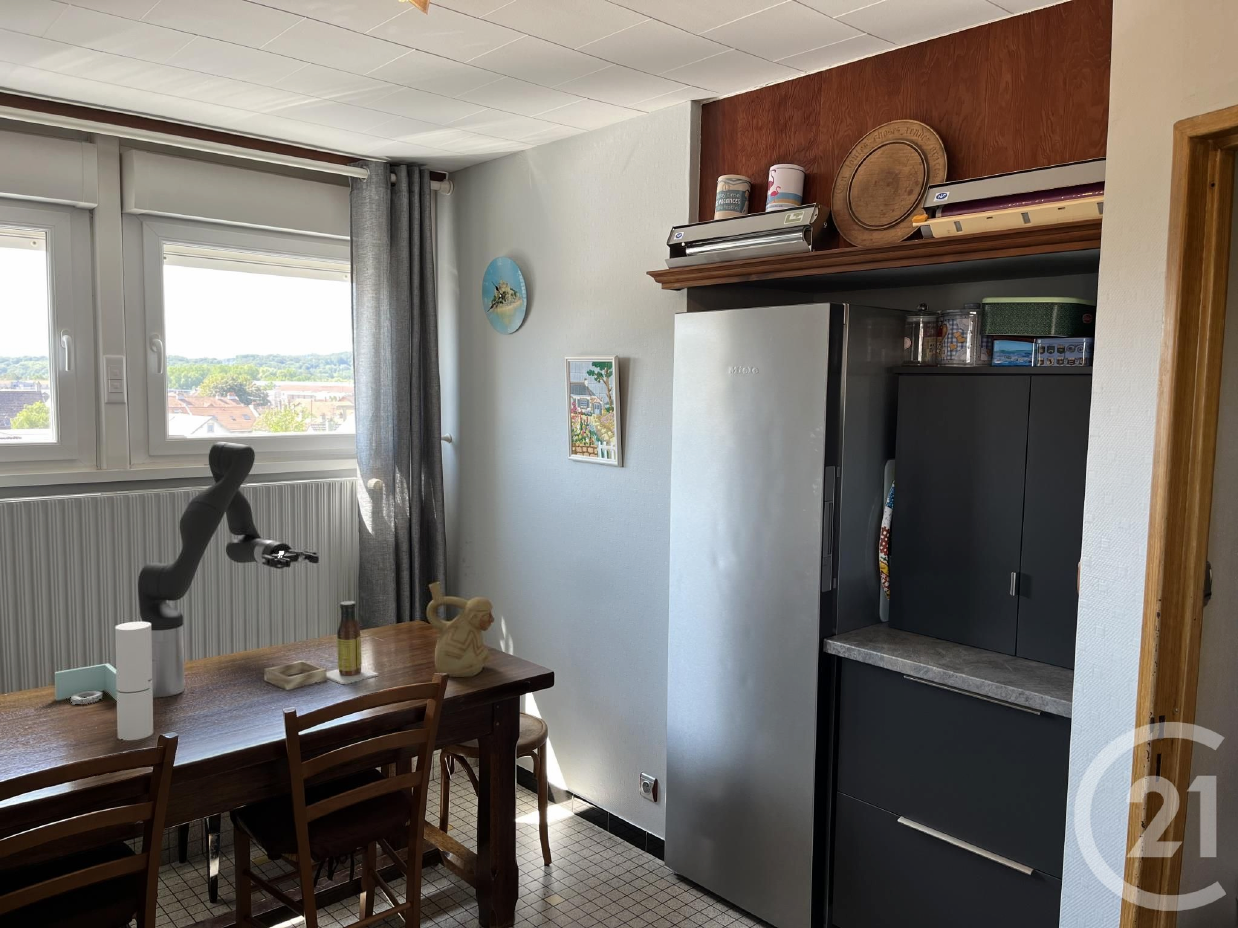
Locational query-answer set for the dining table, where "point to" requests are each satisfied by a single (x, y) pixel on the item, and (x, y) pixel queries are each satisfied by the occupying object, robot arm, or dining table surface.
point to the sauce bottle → (349, 641)
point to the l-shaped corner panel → (86, 683)
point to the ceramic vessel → (460, 634)
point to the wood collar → (282, 672)
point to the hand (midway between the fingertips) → (303, 561)
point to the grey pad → (345, 679)
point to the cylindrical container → (134, 680)
